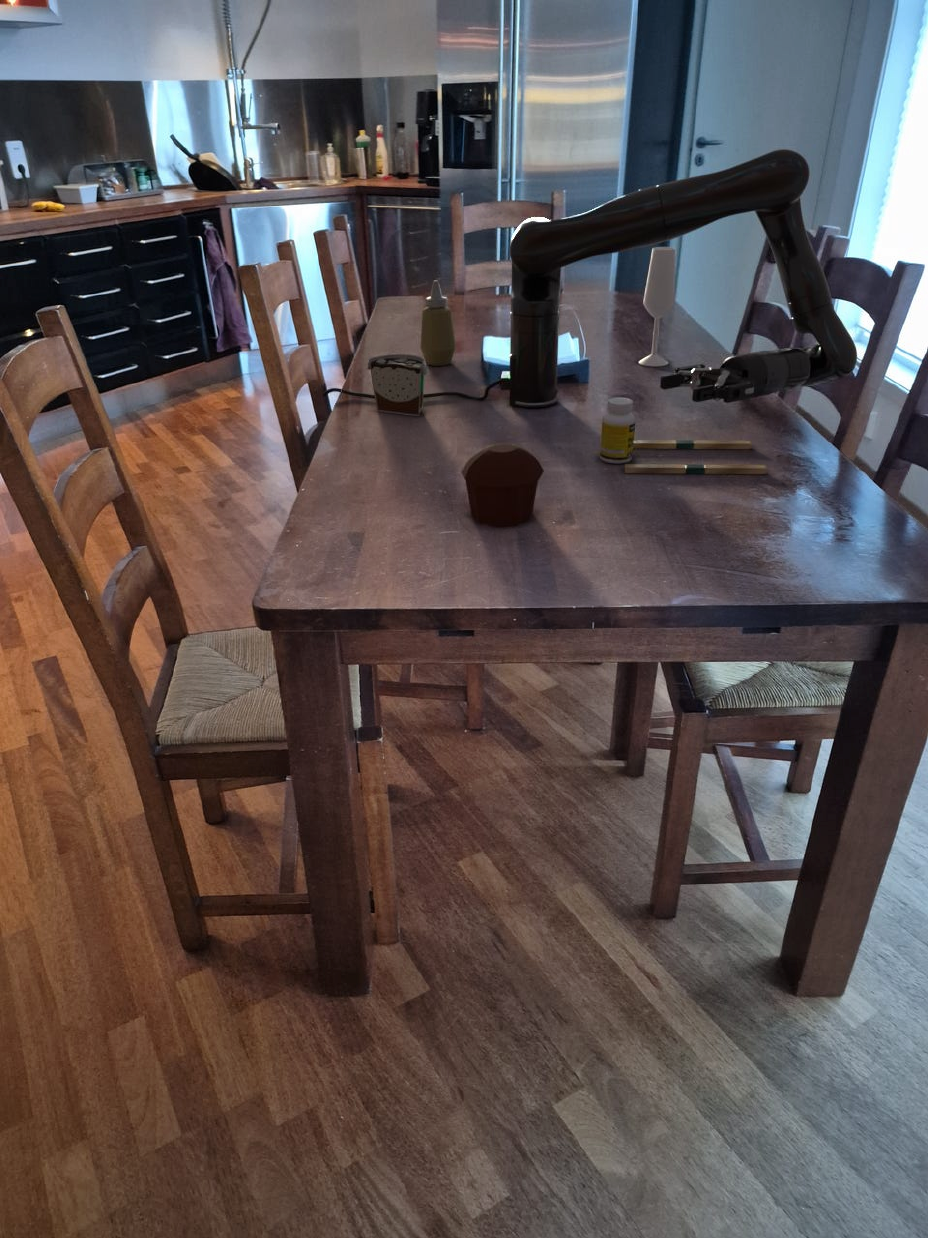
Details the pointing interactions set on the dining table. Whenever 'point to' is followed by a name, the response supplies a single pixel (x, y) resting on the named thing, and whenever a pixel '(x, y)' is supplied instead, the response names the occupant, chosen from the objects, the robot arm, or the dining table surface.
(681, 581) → the dining table surface
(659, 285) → the champagne flute
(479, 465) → the muffin
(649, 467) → the lane
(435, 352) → the squeeze bottle
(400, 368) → the food container
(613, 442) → the supplement bottle
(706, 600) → the dining table surface
